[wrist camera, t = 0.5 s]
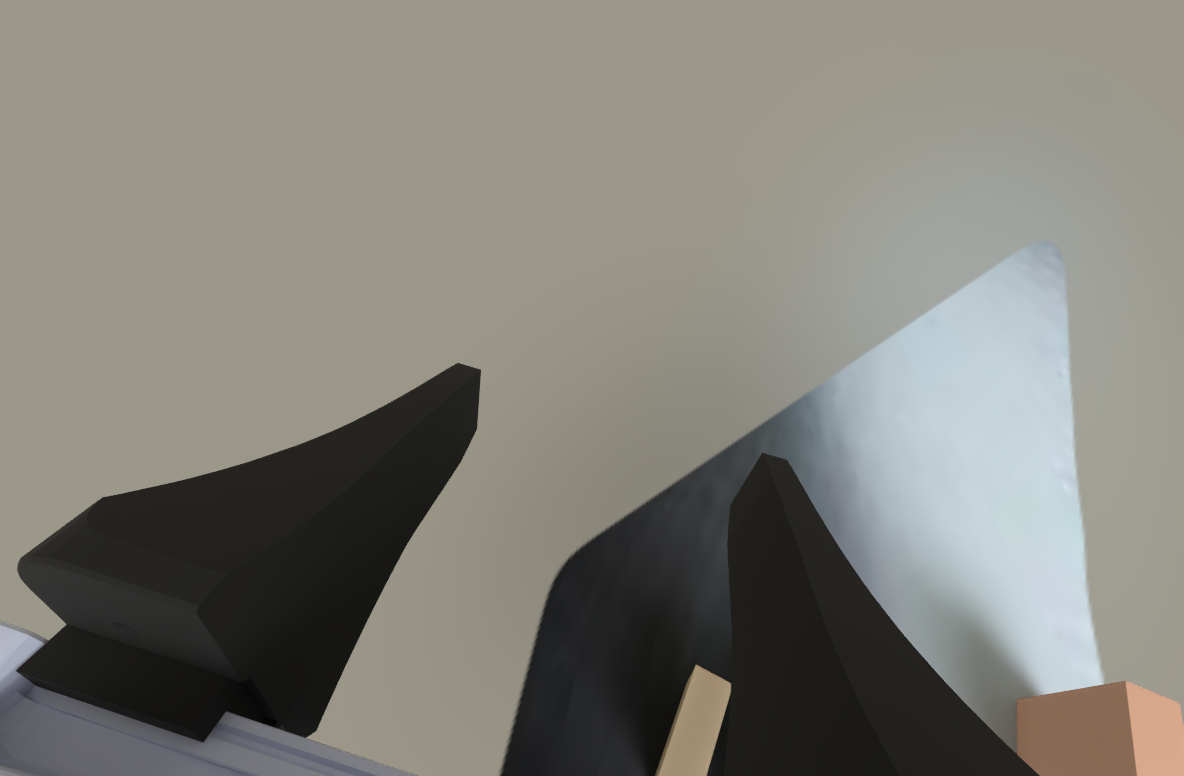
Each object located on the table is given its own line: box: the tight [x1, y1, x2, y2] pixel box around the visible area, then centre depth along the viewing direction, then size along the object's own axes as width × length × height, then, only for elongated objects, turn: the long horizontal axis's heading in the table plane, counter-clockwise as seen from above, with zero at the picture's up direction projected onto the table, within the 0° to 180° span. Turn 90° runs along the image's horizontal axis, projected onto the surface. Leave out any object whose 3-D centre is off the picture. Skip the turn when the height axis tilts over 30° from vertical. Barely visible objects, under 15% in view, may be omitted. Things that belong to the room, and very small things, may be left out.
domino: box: [655, 665, 731, 776], centre depth 21 cm, size 2×5×7 cm, turn 153°
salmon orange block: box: [1017, 681, 1184, 776], centre depth 20 cm, size 2×5×7 cm, turn 153°
